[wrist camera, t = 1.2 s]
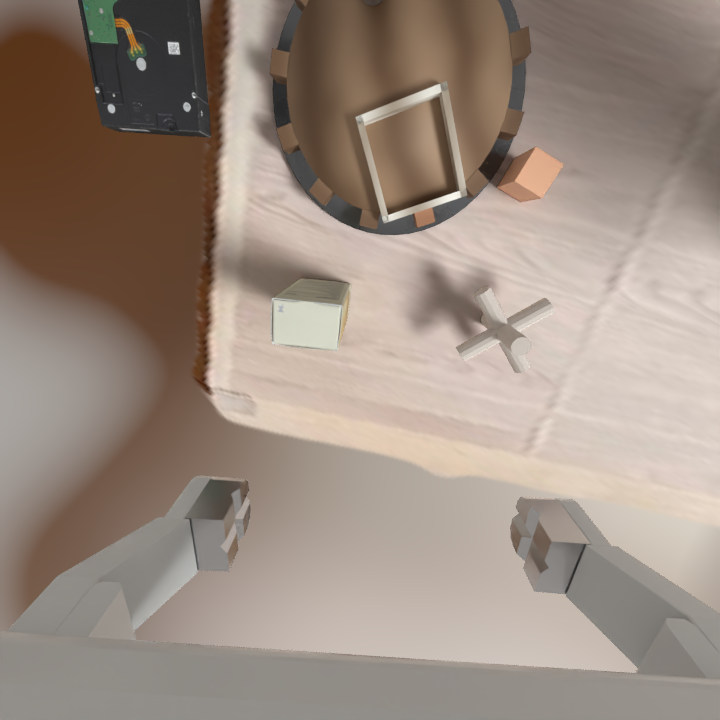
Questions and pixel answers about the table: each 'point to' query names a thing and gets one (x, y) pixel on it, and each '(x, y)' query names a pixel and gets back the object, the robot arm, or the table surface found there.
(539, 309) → the pipe connector
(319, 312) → the skincare box
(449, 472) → the table surface
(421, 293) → the table surface
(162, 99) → the disk drive
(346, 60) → the dial
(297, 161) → the dial base
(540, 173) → the orange rectangular block
